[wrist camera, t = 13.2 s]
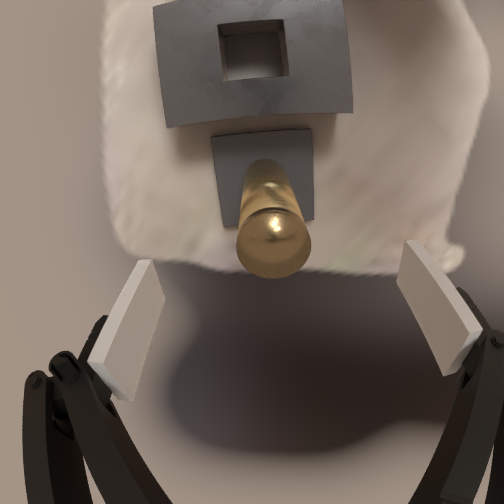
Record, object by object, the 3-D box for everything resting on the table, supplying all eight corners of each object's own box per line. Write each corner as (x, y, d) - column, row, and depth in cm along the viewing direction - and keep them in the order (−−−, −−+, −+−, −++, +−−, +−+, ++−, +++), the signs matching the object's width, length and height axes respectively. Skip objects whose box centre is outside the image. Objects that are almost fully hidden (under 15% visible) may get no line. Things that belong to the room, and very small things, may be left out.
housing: (168, 19, 20) (152, 6, 16) (327, 5, 19) (340, -9, 15) (180, 122, 26) (167, 128, 22) (337, 109, 25) (353, 113, 21)
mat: (211, 136, 27) (210, 137, 26) (310, 128, 27) (311, 129, 26) (224, 223, 32) (223, 226, 32) (312, 216, 32) (313, 219, 31)
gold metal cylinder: (241, 160, 28) (231, 217, 16) (285, 157, 27) (311, 210, 15) (246, 200, 30) (241, 281, 18) (287, 197, 30) (310, 275, 18)
